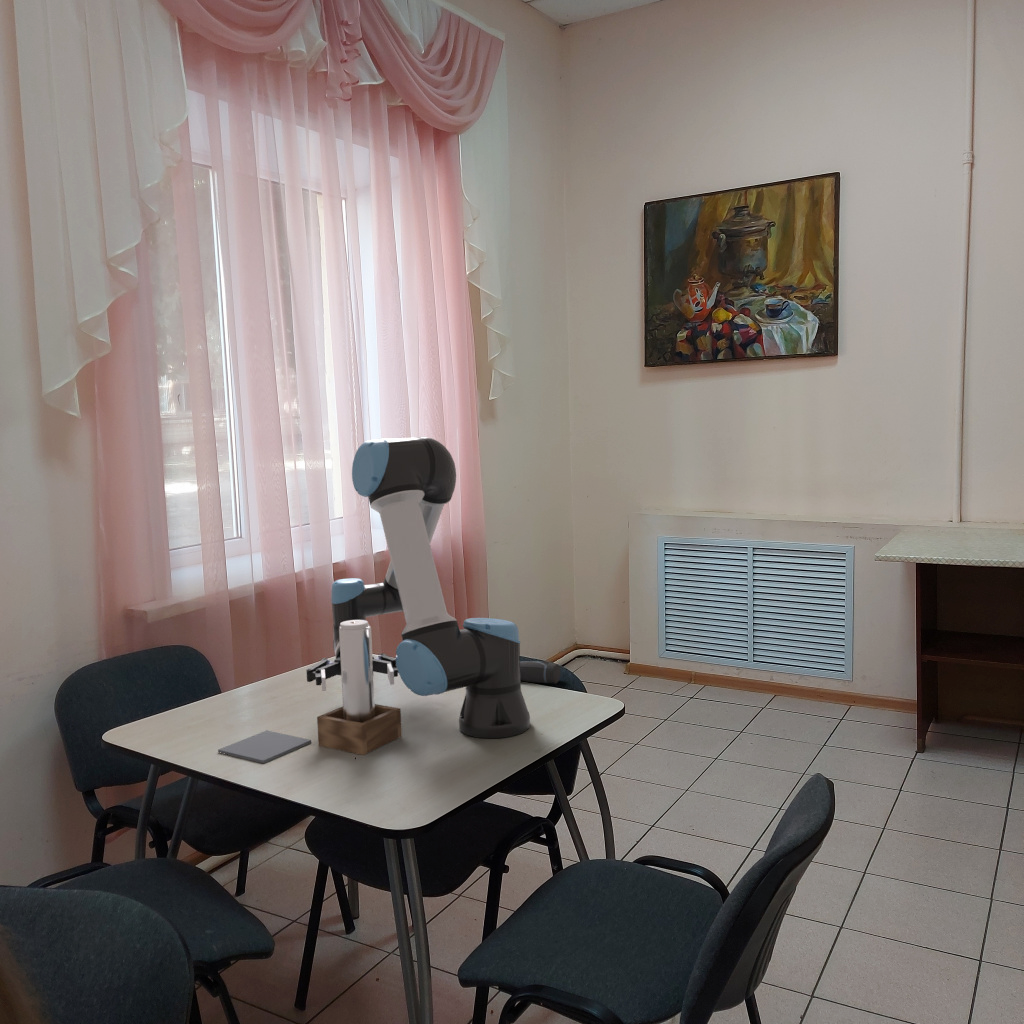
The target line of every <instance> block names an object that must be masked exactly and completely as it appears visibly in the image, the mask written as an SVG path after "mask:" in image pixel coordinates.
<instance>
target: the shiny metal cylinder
mask: <svg viewBox="0 0 1024 1024" xmlns="http://www.w3.org/2000/svg"><path fill="white" fill-rule="evenodd" d="M372 637H373V636H372V626H371V625H370V624H369V621H368V620H366V621H365V620H349V621H344V622H341V623H340V627H339V638H340V658H341V675H340V676H341V695H342V697H341V698H342V707H343V717H344V720H349V721H354V722H359V723H362V722H365V721H367V720H369V719H371V718H374V717H375V704H376V702H375V700H376V699H375V681H374V672H373V657H374V656H373V641H372V639H373V638H372Z"/></svg>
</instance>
